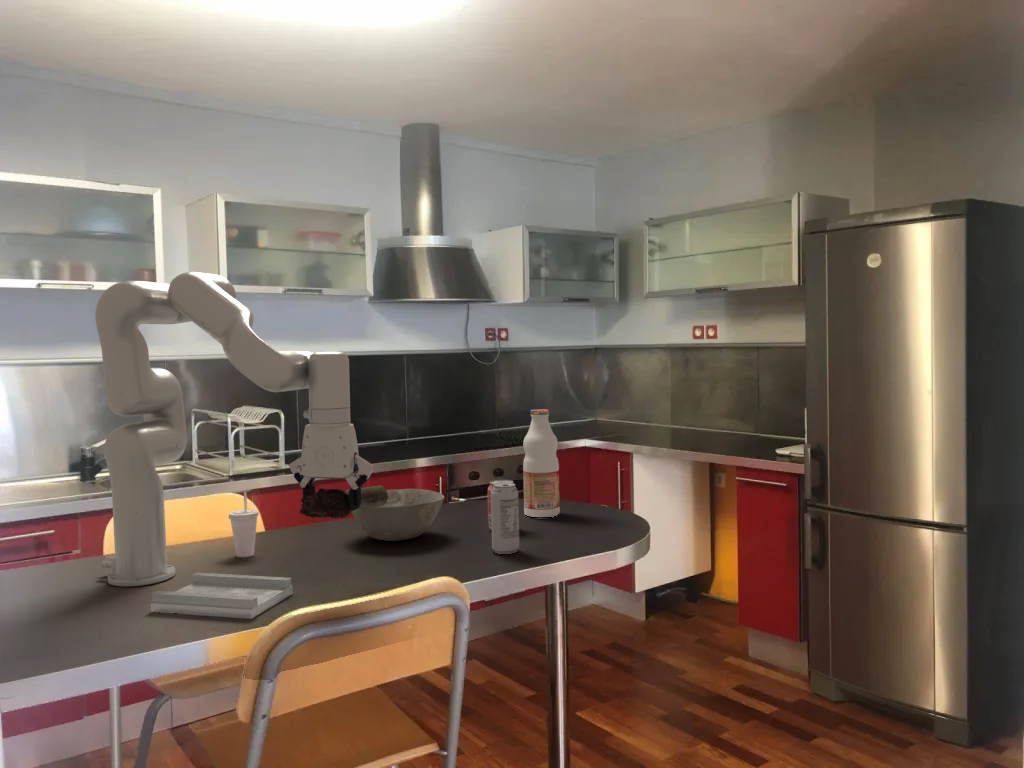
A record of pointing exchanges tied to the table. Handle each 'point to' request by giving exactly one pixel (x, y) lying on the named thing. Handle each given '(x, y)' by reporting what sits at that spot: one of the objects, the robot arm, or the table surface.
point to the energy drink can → (505, 518)
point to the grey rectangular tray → (224, 595)
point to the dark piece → (340, 502)
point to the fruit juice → (541, 468)
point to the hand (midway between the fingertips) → (332, 508)
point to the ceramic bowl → (401, 514)
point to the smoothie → (244, 529)
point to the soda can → (490, 497)
